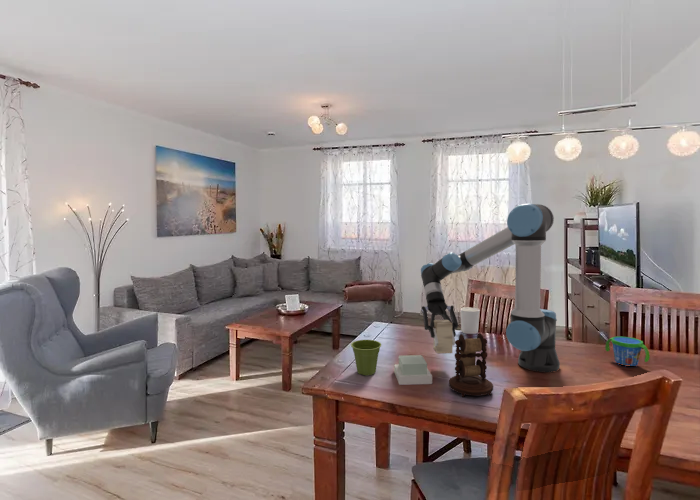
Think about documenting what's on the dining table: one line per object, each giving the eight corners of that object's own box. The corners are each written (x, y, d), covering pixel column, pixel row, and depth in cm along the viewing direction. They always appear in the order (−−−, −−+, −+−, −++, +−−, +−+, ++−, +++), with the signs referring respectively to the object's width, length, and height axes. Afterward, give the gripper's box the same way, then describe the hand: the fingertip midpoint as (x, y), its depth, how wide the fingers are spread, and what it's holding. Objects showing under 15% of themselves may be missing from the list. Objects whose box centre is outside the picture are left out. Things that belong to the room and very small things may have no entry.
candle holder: (469, 335, 201) (469, 312, 200) (455, 330, 210) (456, 308, 209) (483, 332, 206) (483, 310, 205) (469, 328, 214) (470, 306, 213)
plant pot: (345, 371, 155) (344, 343, 154) (368, 364, 163) (368, 337, 162) (364, 381, 146) (364, 351, 145) (387, 373, 153) (387, 344, 152)
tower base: (394, 371, 154) (394, 354, 154) (424, 371, 155) (424, 353, 154) (399, 384, 142) (399, 365, 142) (432, 383, 143) (432, 365, 142)
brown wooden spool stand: (481, 380, 146) (482, 327, 144) (501, 398, 131) (502, 339, 129) (442, 382, 144) (443, 329, 142) (458, 401, 129) (459, 341, 128)
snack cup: (598, 359, 165) (599, 336, 165) (616, 356, 169) (617, 333, 168) (636, 373, 151) (637, 347, 150) (655, 369, 154) (656, 344, 153)
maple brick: (433, 348, 162) (433, 320, 161) (448, 348, 162) (447, 319, 161) (437, 353, 156) (437, 323, 155) (452, 353, 156) (452, 323, 155)
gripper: (454, 299, 173) (466, 347, 158) (411, 301, 173) (420, 349, 157) (458, 289, 168) (471, 338, 152) (413, 291, 167) (422, 340, 152)
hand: (445, 344), depth 155 cm, fingers closed on maple brick, 6 cm apart
